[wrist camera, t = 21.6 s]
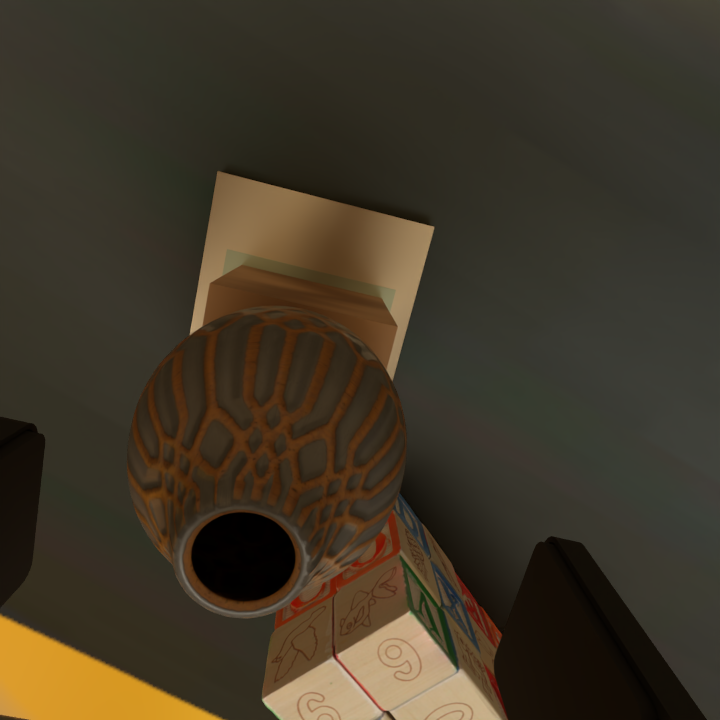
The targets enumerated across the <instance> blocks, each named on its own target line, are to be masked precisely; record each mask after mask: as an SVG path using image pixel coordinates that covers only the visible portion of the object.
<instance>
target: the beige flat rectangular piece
mask: <svg viewBox="0 0 720 720" xmlns="http://www.w3.org/2000/svg"><path fill="white" fill-rule="evenodd" d="M433 231H434V227H433V226H429V225H425V224H421V223H417V222H413V221H409V220H405V219H402V218H398V217H394V216H390V215H386V214H382V213H378V212H374V211H370V210H367V209H363V208H359V207H355V206H351V205H347V204H343V203H339V202H335V201H332V200H328V199H324V198H320V197H316V196H312V195H308V194H304V193H300V192H297V191H293V190H289V189H285V188H281V187H277V186H273V185H269V184H266V183H262V182H258V181H254V180H250V179H246V178H242V177H238V176H234V175H231V174H227V173H223V172H219V171H218V172H217V178H216V184H215V190H214V196H213V201H212V207H211V213H210V219H209V225H208V231H207V237H206V242H205V248H204V254H203V260H202V266H201V272H200V278H199V283H198V289H197V295H196V301H195V307H194V313H193V319H192V324H191V330H190V335H191V334H192V333H193V332H195V331H196V330H198V329H199V328H201V327H202V325H203V319H204V313H205V308H206V302H207V296H208V290H209V285H210V283H211V282H212V281H214V280H216V279H218V278H219V277H221V276H223V275H225V274H226V273H228V272H230V271H232V270H234V269H235V268H237V267H239V266H241V265H245V266H249V267H253V268H257V269H262V270H266V271H270V272H274V273H278V274H283V275H287V276H291V277H295V278H299V279H304V280H308V281H312V282H316V283H321V284H325V285H329V286H333V287H337V288H342V289H346V290H350V291H354V292H358V293H363V294H367V295H371V296H375V297H379V298H382V299H383V301H384V303H385V305H386V306H387V308H388V310H389V312H390V314H391V315H392V317H393V319H394V321H395V322H396V324H397V326H398V329H397V332H396V336H395V340H394V344H393V347H392V351H391V355H390V359H389V362H388V366H387V370H386V371H387V372H388V374H389V376H390V378H391V380H392V381H393V377H394V374H395V370H396V366H397V363H398V359H399V355H400V352H401V348H402V344H403V341H404V337H405V333H406V330H407V326H408V322H409V319H410V315H411V311H412V308H413V304H414V300H415V297H416V293H417V289H418V286H419V282H420V278H421V275H422V271H423V268H424V264H425V260H426V257H427V253H428V249H429V246H430V242H431V238H432V235H433Z"/></svg>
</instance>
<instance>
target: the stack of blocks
mask: <svg viewBox="0 0 720 720" xmlns="http://www.w3.org/2000/svg"><path fill="white" fill-rule="evenodd" d="M501 637H502V634H501V633H500V631H499V630H498V629H497V628H496V626H495V624H494V623H493V622H492V620H491V619H490V618H489V616H488V615H487V613H486V612H485V611H484V609H483V608H482V607H481V606H479V605H478V603H477V602H476V600H475V599H474V597H473V596H472V594H471V593H470V592H469V590H468V589H467V588H466V586H465V585H464V584H463V582H462V581H461V580H460V578H459V577H458V575H457V574H456V573H455V571H454V568H453V566H452V563H451V562H450V560H449V559H448V558H447V556H446V555H445V553H444V552H443V551H442V549H441V548H440V546H439V545H438V544H437V542H436V541H435V540H434V538H433V537H432V535H431V534H430V533H429V531H428V530H427V528H426V527H425V526H424V525H423V524H422V523H421V522H420V521H419V519H418V518H417V516H416V515H415V513H414V512H413V510H412V509H411V508H410V506H409V505H408V503H407V502H406V501H405V499H404V498H403V497H402V495H401V494H400V493H399V494H398V497H397V500H396V503H395V505H394V508H393V510H392V512H391V514H390V516H389V518H388V520H387V522H386V524H385V526H384V527H383V529H382V531H381V532H380V534H379V535H378V536H377V538H376V539H375V540H374V542H373V543H372V544H371V546H370V547H369V548H368V549H367V550H366V551H365V553H364V554H363V555H362V556H361V557H360V558H359V559H357V560H356V561H355V562H354V563H353V564H352V565H350V566H349V567H348V568H347V569H345V570H344V571H342V572H341V573H340V574H338V575H337V576H335V577H333V578H332V579H330V580H328V581H326V582H324V583H322V584H320V585H318V586H315V587H313V588H311V589H308V590H305V591H302V592H301V593H300V594H299V596H298V597H297V598H295V599H294V600H293V601H292V602H291V603H289V604H288V605H287V606H285V607H284V608H282V609H280V610H278V611H276V619H275V631H274V632H273V633H272V635H271V637H270V644H269V650H268V657H267V664H266V671H265V679H264V685H263V691H262V701H263V703H264V704H265V706H266V707H267V708H268V709H269V710H271V711H272V712H273V713H274V715H275V716H276V717H277V718H278V719H279V720H508V717H507V714H506V711H505V708H504V704H503V701H502V698H501V695H500V691H499V688H498V685H497V682H496V679H495V674H494V658H495V654H496V651H497V648H498V645H499V643H500V640H501Z"/></svg>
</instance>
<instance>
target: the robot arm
mask: <svg viewBox="0 0 720 720" xmlns="http://www.w3.org/2000/svg"><path fill="white" fill-rule="evenodd" d="M44 449H45V437H44V435H43V434H39V433H38V431H37V428H36V426H35V425H34V424H32V423H27V422H22V421H18V420H13V419H9V418H4V417H0V607H1V606H2V605H3V604H4V603H5V602H6V601H7V600H8V599H9V598H10V596H11V595H12V594H13V593H14V592H15V591H16V590H17V589H18V588H19V587H20V585H21V584H22V583H23V582H24V580H25V579H26V577H27V575H28V573H29V571H30V568H31V565H32V559H33V550H34V541H35V532H36V522H37V513H38V504H39V495H40V486H41V476H42V467H43V458H44ZM494 674H495V679H496V682H497V685H498V688H499V691H500V695H501V698H502V701H503V704H504V708H505V711H506V714H507V717H508V720H707V719H706V718H705V716H704V715H703V714H702V712H701V711H700V709H699V708H698V707H697V705H696V704H695V702H694V701H693V699H692V698H691V697H690V695H689V694H688V692H687V691H686V690H685V688H684V687H683V685H682V684H681V682H680V681H679V680H678V678H677V677H676V675H675V674H674V673H673V671H672V670H671V668H670V667H669V666H668V664H667V663H666V661H665V660H664V658H663V657H662V656H661V654H660V653H659V651H658V650H657V649H656V647H655V646H654V644H653V643H652V641H651V640H650V639H649V637H648V636H647V634H646V633H645V632H644V630H643V629H642V627H641V626H640V624H639V623H638V622H637V620H636V619H635V617H634V616H633V615H632V613H631V612H630V610H629V609H628V607H627V606H626V605H625V603H624V602H623V600H622V599H621V598H620V596H619V595H618V593H617V592H616V590H615V589H614V588H613V586H612V585H611V583H610V582H609V581H608V579H607V578H606V576H605V575H604V573H603V572H602V571H601V569H600V568H599V566H598V565H597V564H596V562H595V561H594V559H593V558H592V557H591V555H590V554H589V552H588V551H587V549H586V548H585V547H584V545H583V544H582V543H579V542H575V541H571V540H566V539H561V538H557V537H552V536H551V537H549V538H547V540H546V541H545V542H539V543H538V544H537V545H536V547H535V549H534V551H533V554H532V556H531V559H530V562H529V565H528V567H527V570H526V573H525V575H524V578H523V581H522V583H521V586H520V589H519V591H518V594H517V597H516V600H515V602H514V605H513V608H512V610H511V613H510V616H509V618H508V621H507V624H506V626H505V629H504V632H503V635H502V637H501V640H500V643H499V645H498V648H497V651H496V654H495V658H494ZM0 720H27V719H21V718H16V717H9V716H4V715H0Z"/></svg>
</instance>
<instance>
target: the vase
mask: <svg viewBox="0 0 720 720" xmlns="http://www.w3.org/2000/svg"><path fill="white" fill-rule="evenodd" d="M406 456H407V433H406V424H405V419H404V414H403V410H402V406H401V402H400V399H399V396H398V394H397V391H396V389H395V387H394V384H393V382H392V380H391V378H390V376H389V374H388V372H387V371H386V369H385V367H384V366H383V364H382V363H381V361H380V360H379V359H378V357H377V356H376V355H375V353H374V352H373V351H372V350H371V348H370V347H369V346H368V345H367V344H366V343H365V342H364V341H363V340H362V339H361V338H359V337H358V336H357V335H356V334H355V333H353V332H352V331H351V330H349V329H348V328H346V327H345V326H343V325H342V324H340V323H338V322H336V321H335V320H333V319H331V318H328V317H326V316H324V315H321V314H318V313H316V312H313V311H309V310H305V309H301V308H296V307H288V306H260V307H252V308H247V309H243V310H239V311H236V312H233V313H230V314H227V315H225V316H222V317H220V318H218V319H216V320H213V321H211V322H209V323H208V324H206V325H204V326H202V327H201V328H199V329H198V330H196V331H195V332H193V333H192V334H191V335H189V336H188V337H186V338H185V339H184V340H183V341H182V342H180V343H179V344H178V345H177V346H176V347H175V348H174V349H173V350H172V351H171V352H170V353H169V354H168V355H167V356H166V357H165V358H164V360H163V361H162V362H161V363H160V364H159V366H158V367H157V368H156V370H155V371H154V373H153V374H152V376H151V378H150V379H149V381H148V383H147V384H146V386H145V388H144V390H143V392H142V394H141V396H140V399H139V401H138V404H137V407H136V410H135V413H134V417H133V420H132V424H131V429H130V434H129V440H128V449H127V474H128V482H129V488H130V493H131V497H132V501H133V505H134V508H135V511H136V513H137V515H138V518H139V520H140V522H141V524H142V526H143V528H144V530H145V531H146V533H147V535H148V536H149V538H150V540H151V541H152V542H153V544H154V545H155V546H156V548H157V549H158V550H159V551H160V552H161V553H162V555H163V556H164V557H165V558H166V559H167V560H168V561H169V562H170V563H171V564H172V565H173V568H174V571H175V574H176V577H177V579H178V581H179V583H180V585H181V586H182V588H183V589H184V590H185V592H186V593H187V594H188V595H189V596H190V597H191V598H192V599H193V600H194V601H195V602H197V603H198V604H199V605H201V606H203V607H204V608H206V609H208V610H210V611H212V612H214V613H217V614H220V615H223V616H228V617H234V618H254V617H260V616H264V615H268V614H271V613H273V612H276V611H278V610H280V609H282V608H284V607H285V606H287V605H288V604H289V603H291V602H292V601H293V600H294V599H295V598H297V597H298V596H299V594H300V593H301V592H302V591H305V590H308V589H311V588H313V587H315V586H318V585H320V584H322V583H324V582H326V581H328V580H330V579H332V578H333V577H335V576H337V575H338V574H340V573H341V572H342V571H344V570H345V569H347V568H348V567H349V566H350V565H352V564H353V563H354V562H355V561H356V560H357V559H359V558H360V557H361V556H362V555H363V554H364V553H365V551H366V550H367V549H368V548H369V547H370V546H371V544H372V543H373V542H374V540H375V539H376V538H377V536H378V535H379V534H380V532H381V531H382V529H383V527H384V526H385V524H386V522H387V520H388V518H389V516H390V514H391V512H392V510H393V508H394V505H395V503H396V500H397V497H398V494H399V491H400V488H401V485H402V481H403V476H404V472H405V465H406Z"/></svg>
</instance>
